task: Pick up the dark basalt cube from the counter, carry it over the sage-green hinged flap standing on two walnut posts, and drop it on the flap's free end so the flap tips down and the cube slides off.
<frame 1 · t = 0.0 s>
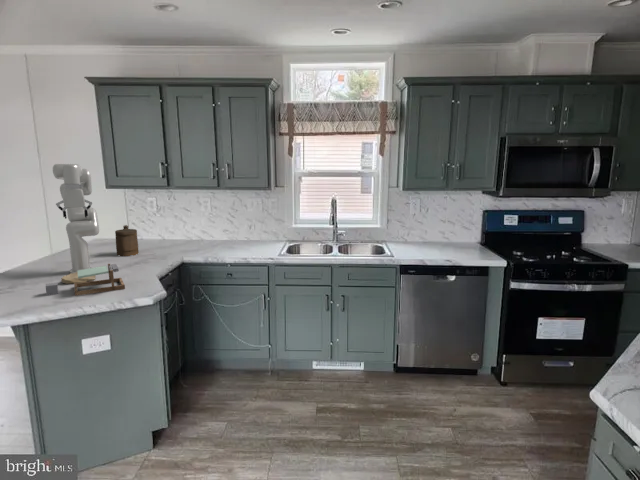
hand: (75, 217, 223), 37 cm above the worktop, tool pointing down, fingers open, 9 cm apart
stone: (52, 293, 208), on the worktop
frame: (94, 288, 216), on the worktop
wooden container: (127, 254, 299), on the worktop
rock: (82, 281, 231), on the worktop
trapdoor: (98, 270, 215), point 10 cm above the worktop, hinge at -4.2°
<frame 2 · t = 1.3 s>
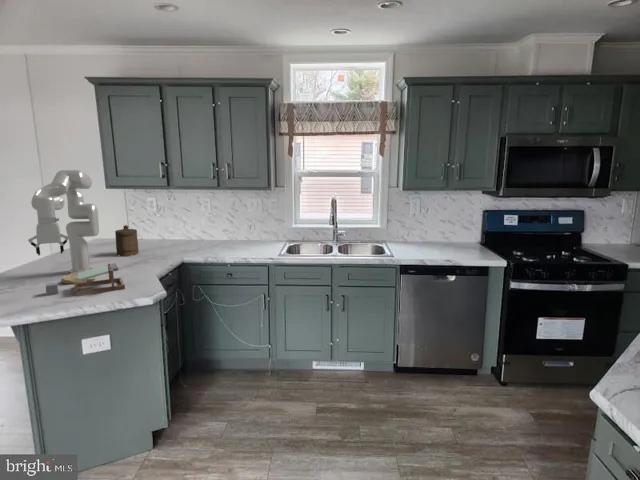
hand: (50, 254, 205), 21 cm above the worktop, tool pointing down, fingers open, 9 cm apart
trapdoor: (98, 271, 215), point 9 cm above the worktop, hinge at -9.8°
everything else where it was.
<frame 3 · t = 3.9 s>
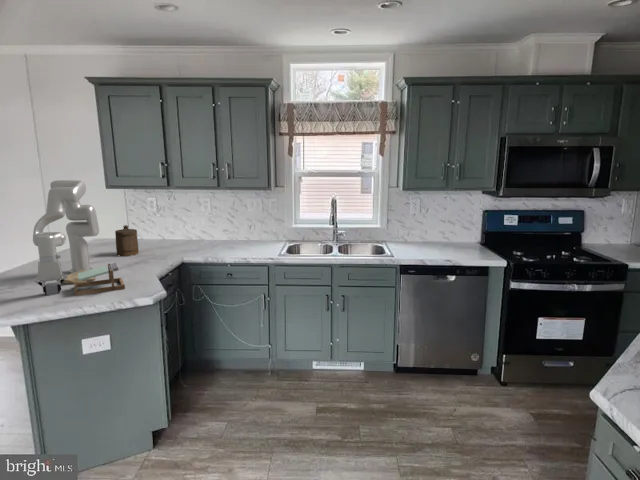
hand: (52, 292, 207), 1 cm above the worktop, tool pointing down, fingers closed on stone, 5 cm apart
stone: (52, 293, 208), on the worktop, touching gripper
trapdoor: (98, 271, 215), point 9 cm above the worktop, hinge at -10.5°
everything else where it was.
when the fingers open (14 cm above the worktop, at t = 7.9 s): stone drops 9 cm and tips over, resting on frame, trapdoor.
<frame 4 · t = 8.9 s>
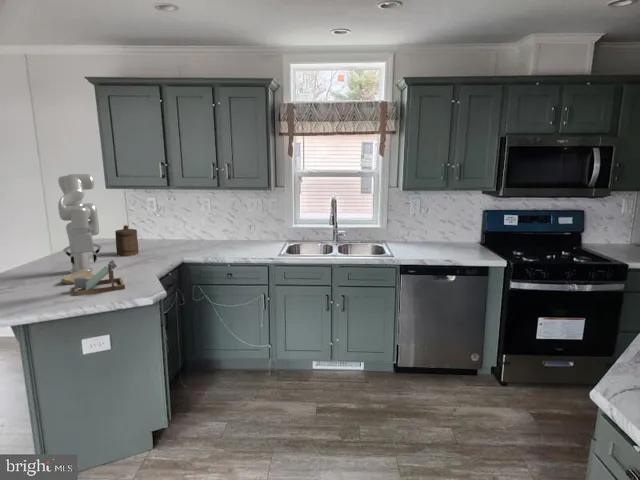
hand: (84, 262, 211), 15 cm above the worktop, tool pointing down, fingers open, 9 cm apart
stone: (85, 281, 213), point 4 cm above the worktop, tilted 89°, touching frame, trapdoor
trapdoor: (100, 275, 216), point 7 cm above the worktop, hinge at -38.9°, touching stone
everything else where it was.
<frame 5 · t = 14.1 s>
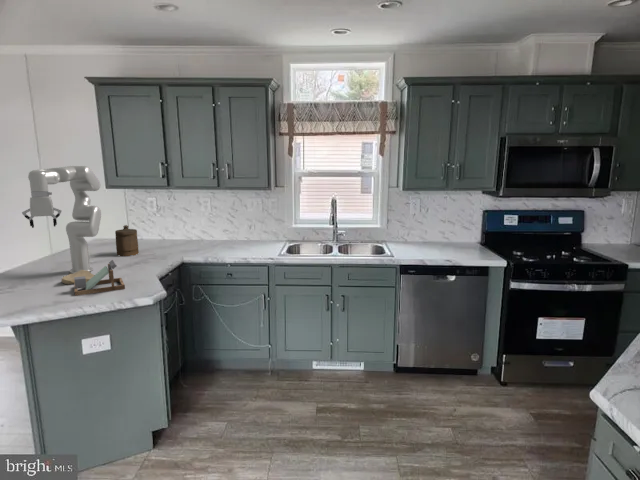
hand: (44, 226, 213), 33 cm above the worktop, tool pointing down, fingers open, 9 cm apart
nothing on the worktop moved.
at the end: stone point 4.4 cm above the worktop; trapdoor at -39° (first picture: -4°); the gripper is holding nothing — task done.
